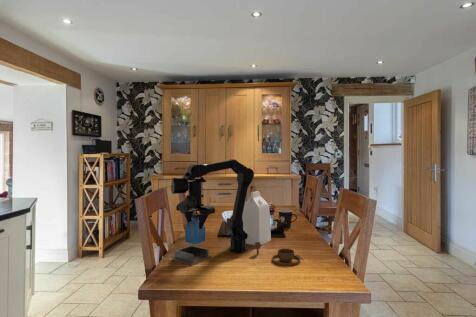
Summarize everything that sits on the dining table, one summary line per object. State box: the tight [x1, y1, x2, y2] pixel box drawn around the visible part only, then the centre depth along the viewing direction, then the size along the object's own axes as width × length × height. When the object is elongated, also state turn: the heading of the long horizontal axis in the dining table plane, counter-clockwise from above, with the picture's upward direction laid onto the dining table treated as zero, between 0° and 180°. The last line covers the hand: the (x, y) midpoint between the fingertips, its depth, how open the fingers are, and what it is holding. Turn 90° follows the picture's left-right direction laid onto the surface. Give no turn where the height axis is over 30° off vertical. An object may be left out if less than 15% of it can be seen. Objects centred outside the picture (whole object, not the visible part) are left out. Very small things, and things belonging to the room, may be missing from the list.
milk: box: [242, 190, 272, 246], centre depth 161 cm, size 12×12×26 cm
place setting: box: [254, 242, 305, 267], centre depth 135 cm, size 18×20×6 cm
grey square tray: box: [171, 244, 212, 267], centre depth 135 cm, size 12×12×4 cm
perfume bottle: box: [184, 213, 206, 245], centre depth 136 cm, size 6×6×12 cm
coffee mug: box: [278, 209, 298, 229], centre depth 192 cm, size 12×9×10 cm
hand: (195, 228), depth 136 cm, fingers closed on perfume bottle, 6 cm apart
